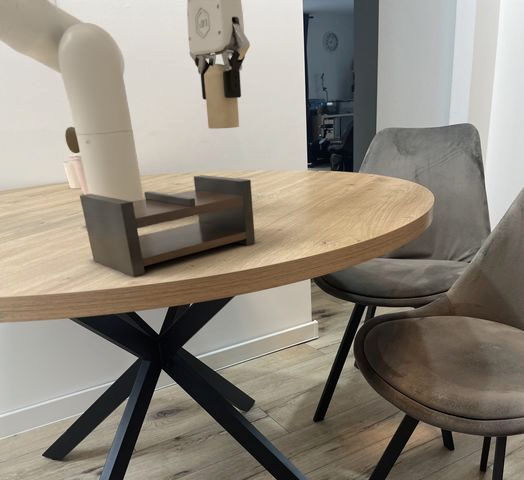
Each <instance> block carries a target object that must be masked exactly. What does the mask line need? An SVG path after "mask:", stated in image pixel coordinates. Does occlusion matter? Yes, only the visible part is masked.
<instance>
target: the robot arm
mask: <svg viewBox="0 0 524 480" xmlns="http://www.w3.org/2000/svg"><path fill="white" fill-rule="evenodd" d="M186 6H187V7H186V12H187V15H186V16H187V35H188V47H189V56H190V57H191V59H192V60H193V61H194V64H195V66H196V67H197V73H198V75H200V83H201V97H202V100H205V101H206V93H205V81H204V74H205V73H206V71H207V70H208V68H209V67H210V65H211V66H213V65H215V64H216V59H217V56H218V55H221V58H222V62H223V65H224V66H225V69H226V71H223V81H224V95H225V98H237V99H239V98H241V97H242V89H241V88H242V87H241V71H242V69H243V62H244V60H245V57H246V54H247V52H248V50H249V48H250V46H251V43H250V40H249V39H248V37H247V36H246V34H245V24H244V23H245V22H244V12H243V5H242V0H187V3H186ZM0 42H2V43H4V44H5V45H7V46H8V47H10V48H11V49H12V50H14V51H15V52H17V53H20V54H22V55H24V56H27V57H28V58H30V59H33V60H35V61H37V62H38V63H40V64H42V65H44V66H46V67H47V68H50V69H51V70H53V71H55V72H56V73H59V74H60V75H61V79H62V82H63V85H64V89H65V92H66V97H67V100H68V104H69V109H70V112H71V117H72V122H73V127H74V128H75V132H76V135H77V140H78V145H79V150H80V154H81V159H82V164H83V169H84V174H85V178H86V183H87V188H88V193H89V194H94V195H100V196H105V197H110V198H115V199H121V200H126V201H131V202H132V201H138V200H143V199H145V196H144V191H143V185H142V179H141V173H140V168H139V162H138V156H137V148H136V143H135V138H134V131H133V125H132V120H131V114H130V113H131V112H130V108H129V107H130V106H129V101H128V96H127V91H126V85H125V79H124V73H125V57H124V55H123V52H122V50H121V47H120V46H119V45H118V43H117V41H116V40H115V39H114V37H113V36H112V35H111V34H110V33H109V32H108V31H106V30H105V29H104V28H103V27H101V26H99V25H97V24H95V23H91V22H84V21H82V20H81V19H79V18H77V17H76V16H74V15H72V14H70V13H69V12H67V11H65V10H63V9H62V8H61V7H58V6H57V5H55V4H54V3H52V2H51V1H50V0H0ZM207 60H208V61H207Z"/></svg>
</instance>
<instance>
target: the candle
mask: <svg viewBox="0 0 524 480" xmlns="http://www.w3.org/2000/svg"><path fill="white" fill-rule="evenodd" d="M223 71H226V69H225V66H224V63H223V64H222V63H215V65H213V66H211V65H210V67H209V68H208V70H207V71H206V73H205V74H204V81H205V93H206V100H205V102H206V103H205V104H206V114H207V126H208V127H207V128H208V129H211V130H212V129H215V130H218V129H232V128H234V129H235V128H239V127H240V119H239V118H240V117H239V116H240V115H239V101H238V99H239V98H225V95H224V81H223Z"/></svg>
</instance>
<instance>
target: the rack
mask: <svg viewBox="0 0 524 480" xmlns="http://www.w3.org/2000/svg"><path fill="white" fill-rule="evenodd" d="M193 183H194V189H192V190H186V191H181V192H176V193H171V194H169V193H162V192H158V191H157V192H155V191H143V195H144V199H143V200H138V201H132V202H131V201H126V200H121V199H115V198H110V197H105V196H100V195H94V194H86V195H84V194H81V195H79V199H80V204H81V208H82V213H83V218H84V221H85V226H86V232H87V236H88V241H89V245H90V250H91V255H92V259H93V262H96V263H98V264H101V265H103V266H105V267H109V268H111V269H113V270H116V271H118V272H121V273H124V274H126V275H128V276H130V277H133V278H135V277H139V276H143V275H146V272H145V267H146V266H150V265H153V264H158V263H161V262H164V261H168V260H169V261H170V260H173V259H176V258H179V257H183V256H187V255H192V254H196V253H199V252H203V251H206V250H210V249H213V248H217V247H220V246H223V245H224V246H225V245H228V244H231V243H235V244H240V245H244V246H250V245H253V244H256V237H255V235H256V234H255V223H254V221H255V220H254V210H253V209H254V208H253V195H252V194H253V193H252V183H251V179H249V178H248V179H247V178H236V177H228V176H227V177H225V176H215V175H206V174H200V175H199V174H198V175H194V176H193ZM195 216H198V221H197V222H193V223H188V224H184V225H180V226H175V227H172V228H171V227H170V228H167V229H162V230H158V231H154V232H153V231H152V232H150V233H144V234H141V235H139V232H138V229H141V228H145V227H150V226H154V225H158V224H159V225H160V224H163V223H167V222H173V221H177V220H181V219H186V218H191V217H195Z"/></svg>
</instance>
